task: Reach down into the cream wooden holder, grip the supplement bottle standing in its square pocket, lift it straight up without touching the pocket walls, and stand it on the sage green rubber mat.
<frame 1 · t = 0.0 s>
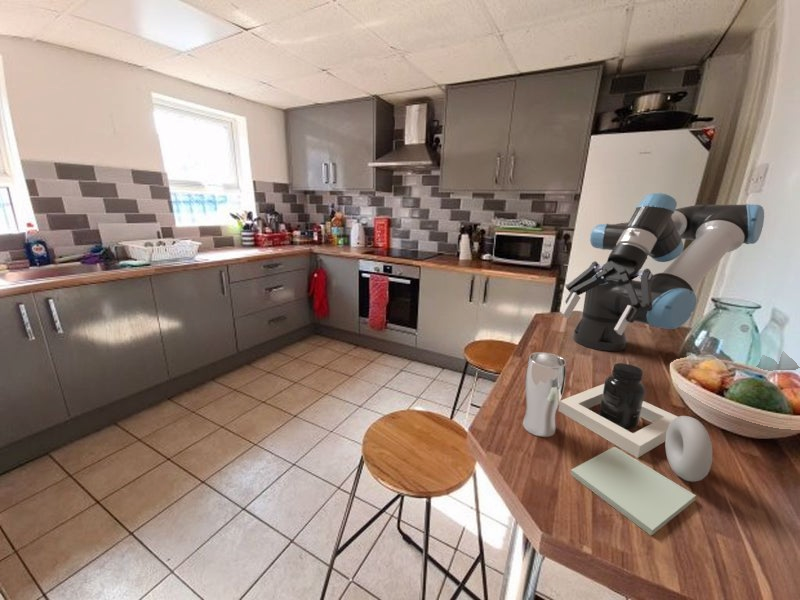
hand: (589, 323, 81), 15 cm above the counter, tool tilted 35°, fingers open, 13 cm apart
mat: (629, 487, 52), on the counter
supplement bottle: (617, 421, 69), resting in holder
donut: (679, 473, 55), on the counter
beer glass: (538, 428, 67), on the counter
holder: (617, 420, 69), on the counter
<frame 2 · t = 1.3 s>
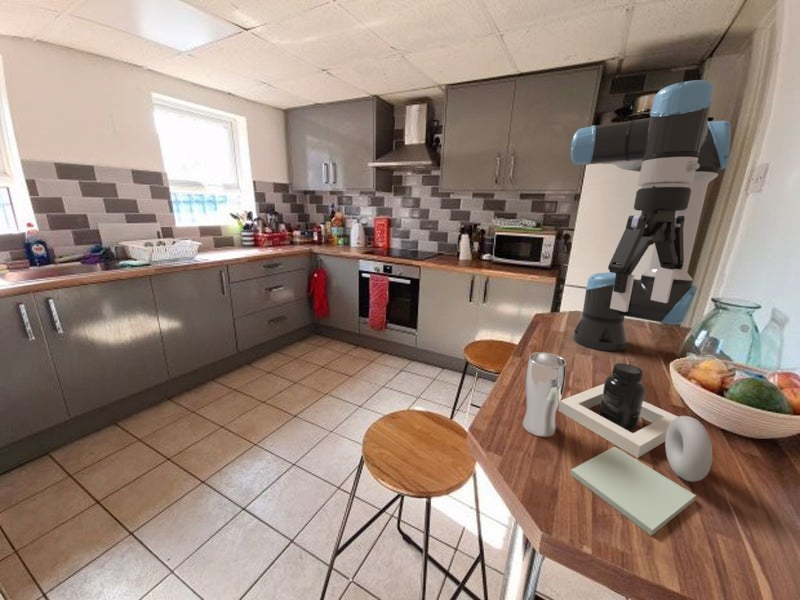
hand: (639, 305, 62), 25 cm above the counter, tool pointing down, fingers open, 13 cm apart
nothing on the counter moved.
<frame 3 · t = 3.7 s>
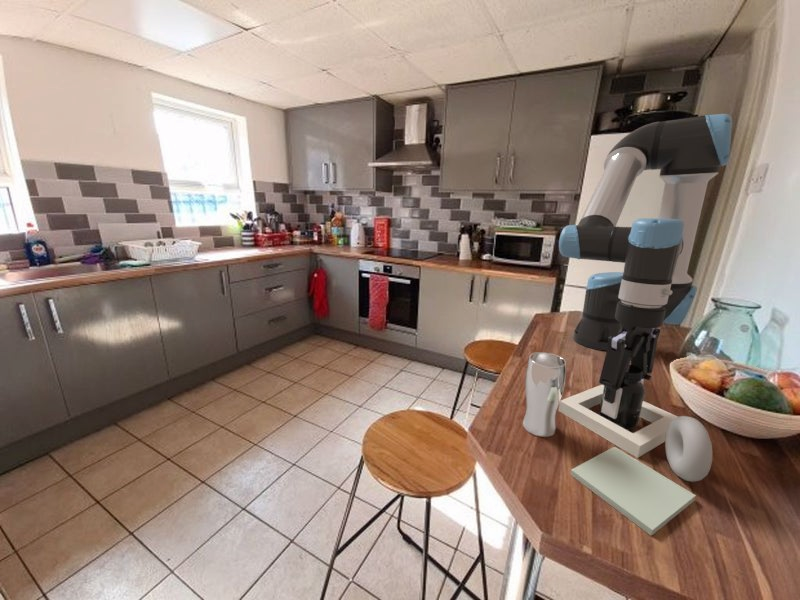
hand: (619, 409, 68), 3 cm above the counter, tool pointing down, fingers closed on supplement bottle, 7 cm apart
supplement bottle: (617, 421, 69), resting in holder, touching gripper
everything else where it was.
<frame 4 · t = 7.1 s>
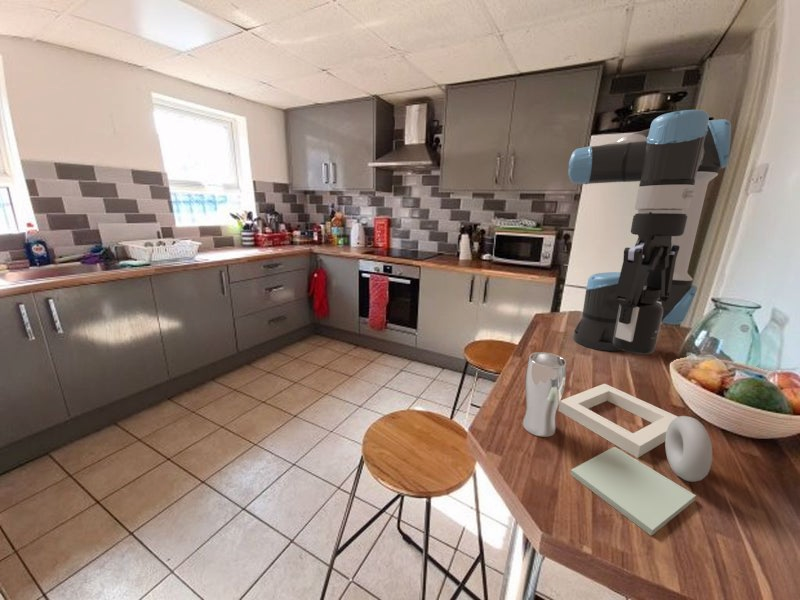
hand: (635, 335, 64), 19 cm above the counter, tool pointing down, fingers closed on supplement bottle, 7 cm apart
supplement bottle: (632, 348, 64), point 16 cm above the counter, touching gripper
everything else where it was.
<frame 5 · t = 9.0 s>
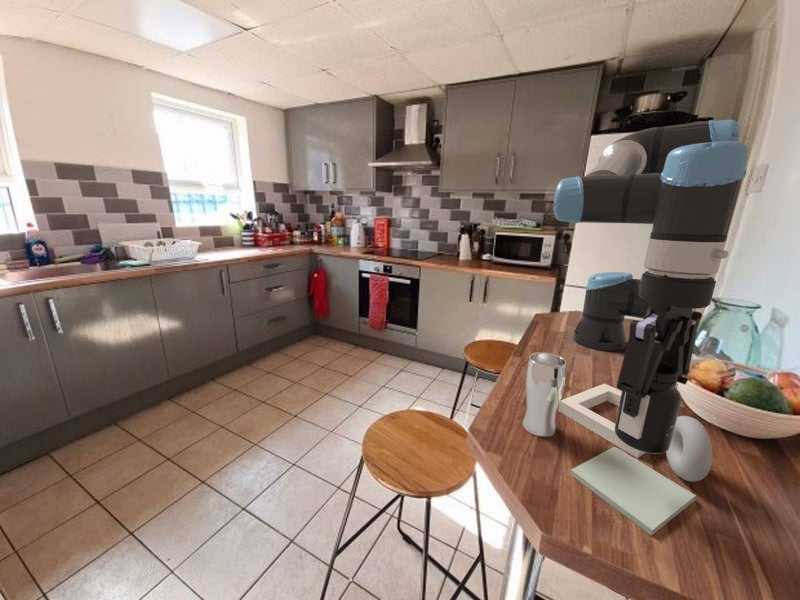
hand: (643, 425, 49), 11 cm above the counter, tool pointing down, fingers closed on supplement bottle, 7 cm apart
supplement bottle: (640, 440, 50), point 9 cm above the counter, touching gripper
everything else where it was.
when the fingers open (5 cm above the counter, at t = 10.5 s): supplement bottle drops 1 cm, resting on mat.
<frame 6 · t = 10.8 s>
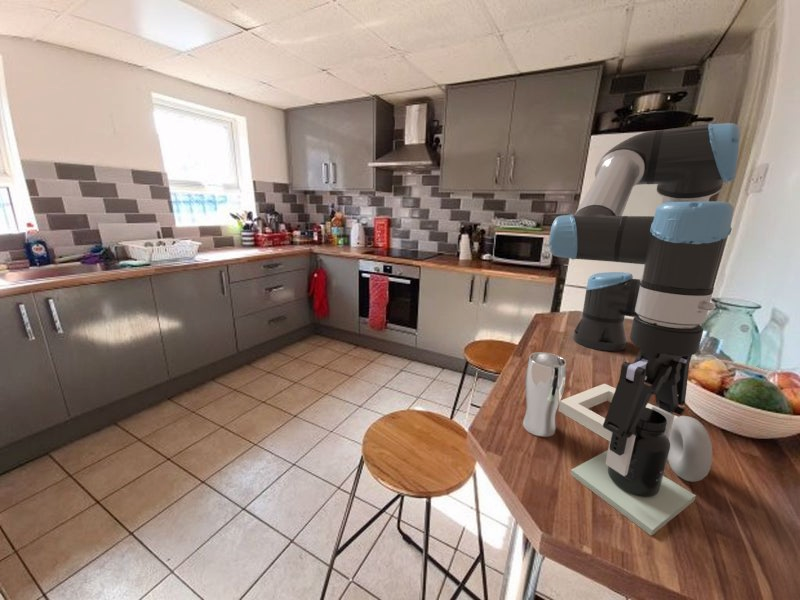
hand: (636, 457, 51), 6 cm above the counter, tool pointing down, fingers open, 10 cm apart
supplement bottle: (631, 482, 52), point 1 cm above the counter, touching mat
everything else where it was.
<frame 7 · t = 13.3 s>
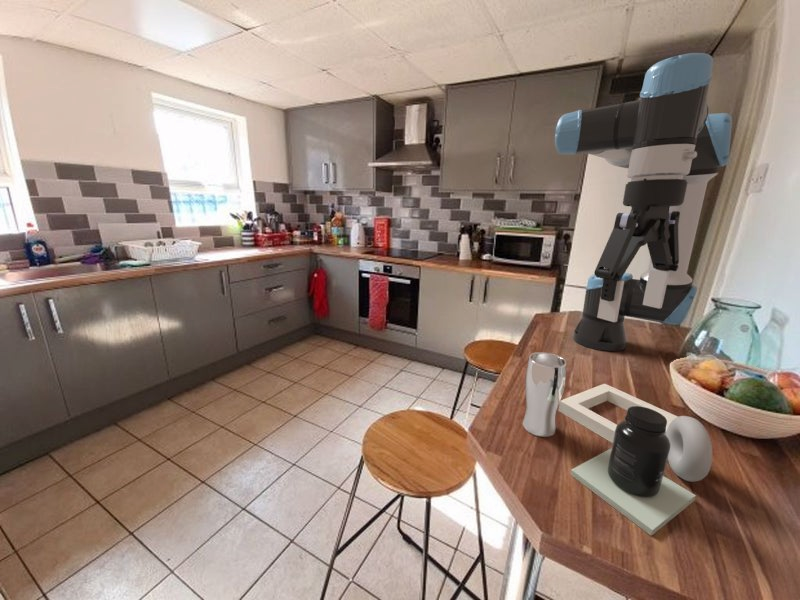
hand: (630, 312, 56), 26 cm above the counter, tool pointing down, fingers open, 13 cm apart
nothing on the counter moved.
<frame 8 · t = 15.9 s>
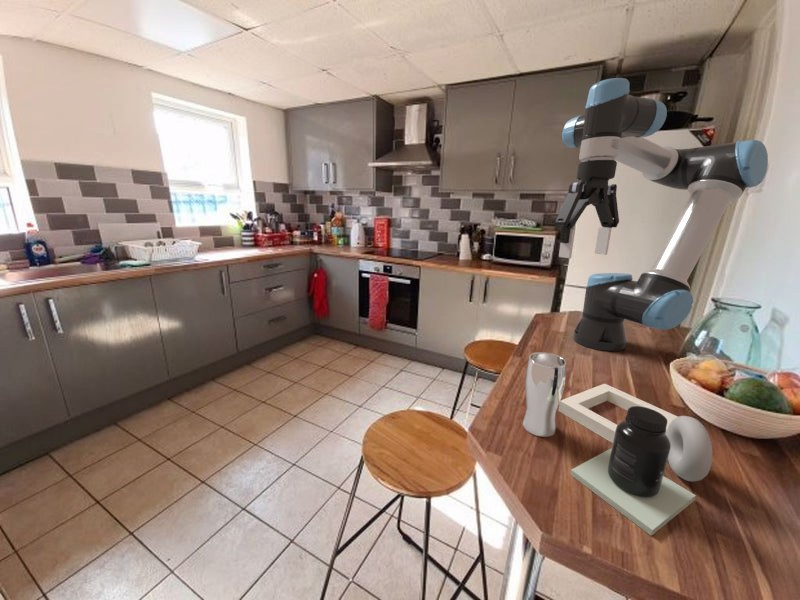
hand: (583, 255, 79), 32 cm above the counter, tool pointing down, fingers open, 13 cm apart
nothing on the counter moved.
at the end: supplement bottle inside the target area on the mat (0.3 cm from its centre), point 0.8 cm above the mat's base; supplement bottle tilted 0°; the gripper is holding nothing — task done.
